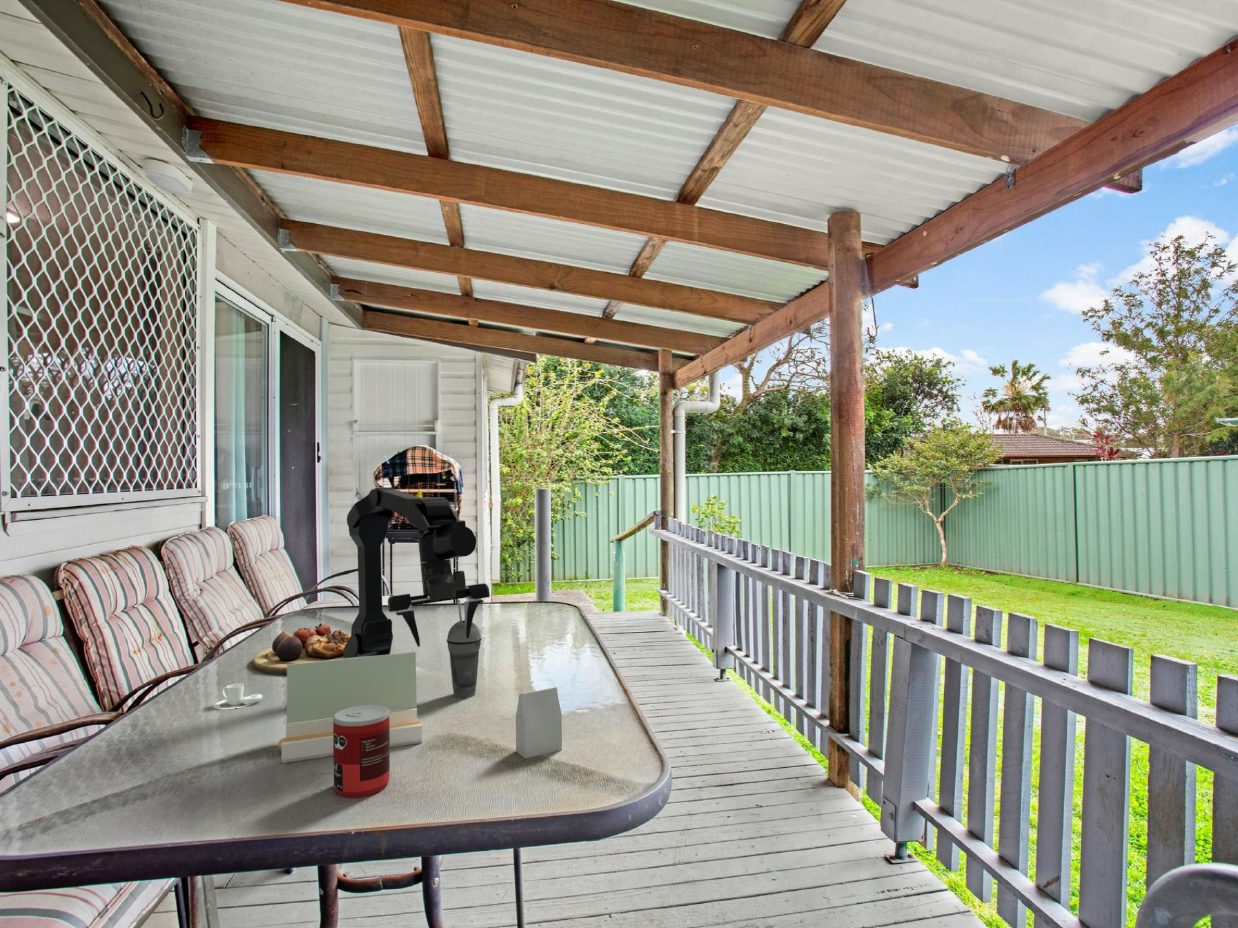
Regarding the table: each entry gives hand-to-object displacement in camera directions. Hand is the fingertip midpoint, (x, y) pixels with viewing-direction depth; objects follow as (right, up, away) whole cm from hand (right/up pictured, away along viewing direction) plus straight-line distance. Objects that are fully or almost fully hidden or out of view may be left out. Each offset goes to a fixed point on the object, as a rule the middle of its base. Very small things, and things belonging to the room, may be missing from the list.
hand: (443, 642), depth 134 cm
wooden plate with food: (-42, -16, +45) cm, 63 cm away
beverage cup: (+1, -15, +13) cm, 20 cm away
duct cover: (-15, -6, -7) cm, 17 cm away
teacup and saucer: (-43, -16, +6) cm, 47 cm away
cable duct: (-12, -14, -12) cm, 23 cm away
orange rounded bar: (-12, -14, -12) cm, 23 cm away
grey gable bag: (+20, -14, -17) cm, 30 cm away
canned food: (-5, -14, -30) cm, 33 cm away
